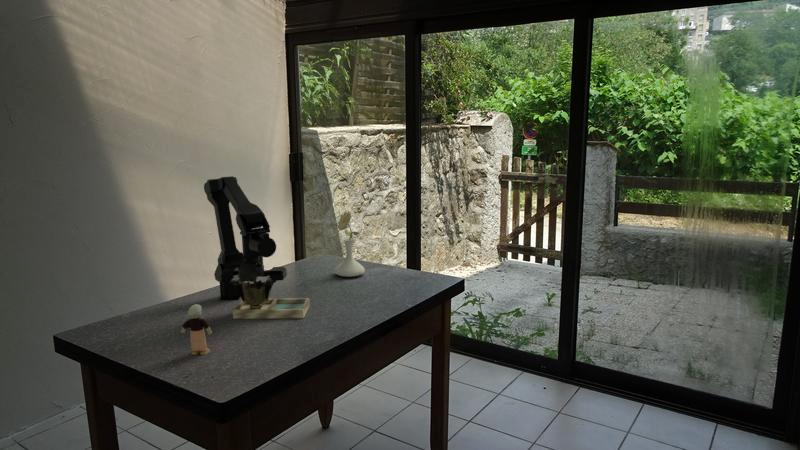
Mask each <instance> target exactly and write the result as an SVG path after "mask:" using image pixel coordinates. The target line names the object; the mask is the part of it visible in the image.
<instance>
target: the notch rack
mask: <svg viewBox="0 0 800 450" xmlns="http://www.w3.org/2000/svg"><path fill="white" fill-rule="evenodd" d="M310 304H311V303H310V298H308V297H307V298H305V297H304V298H303V297H302V298H301V297H300V298H299V297H297V298H296V297H294V298H289V297H288V298H282V297H281V298H269V299H268V301H266V299H265V301H264V302H263V303H262V308H261V309H253V310H251V309H250V305H249V304H247V303H246V301H244V302H243V300H242V299H241V300H240V302H238V304H237V305H236V306H235V307H234V308H233V309H232V318H233V319H235V320H237V319H238V320H239V319H241V320H242V319H247V320H248V319H304V318H305V316H306V315H307V312H308V310H309V308H310Z"/></svg>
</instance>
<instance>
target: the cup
mask: <svg viewBox="0 0 800 450" xmlns="http://www.w3.org/2000/svg"><path fill="white" fill-rule="evenodd" d="M265 282H266V280H265V281H262V280H261V279H260V280H258V281H257V280H256V281H254V282H250V281H246V282H244V284H243V285H242V289H243V295H244V299H245V301H246V303H247V304H249V305H250V309H251V310H253V309H261V308H262V303H263V302H264V301H265V299H266V283H265Z"/></svg>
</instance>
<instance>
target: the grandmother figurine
mask: <svg viewBox="0 0 800 450" xmlns="http://www.w3.org/2000/svg"><path fill="white" fill-rule="evenodd" d="M202 310H203V309H202V305H201V304H197V303H195V304H193V305H191V306H190V307H189V309H188V311H187V313H186V314H187V315H188V316H190V317H191V318H189V319H187V320H185V322H184V323H183V324H182V326H181V327H182V328H181V330H180V333H182V334H185V333H186V330H187V329H188V330H189V329H190V331H189V332H190V334H189V337H190V338H189V339H190V340H189V341H190V345H191V355H192V356H196V355H198V354H199V355H201V356H205V355H207V354H209V353H211V349H210V348H208V347H207V339H206V333H205V331H206V332H207V335H212V333H213V332H212V330H211V327H210V325H209V323H208V322H207V321H206V320H205V319H204V318H201V316H202Z"/></svg>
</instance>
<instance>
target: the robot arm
mask: <svg viewBox="0 0 800 450" xmlns="http://www.w3.org/2000/svg"><path fill="white" fill-rule="evenodd" d="M203 189H204V190H203V192H204V194H206V199H207V200H208V202H209V203H210V204H211V205H212V206H213V209H214V216H215V221H216V225H217V226H216V227H217V233H218V238H219V245H220V246H219V247H220V250H221V251H220V253H219V256H218V258H217V266H216V269H215V270H214V273H213V274H214V275H213V276H214V279H215V281H217V282H218V283H219V293H220V295H219V298H218V300H221V301H222V300H230V301H231V300H232V301H233V300H240V298H241V300H243V302H244V301H245V299H244V295H243V289H242V285H243V284H244V283H245V282H250V283H253V282H254V281H257V279H258V278H260V277H263V278H264V277H265V278H267V279H266V280H265V283H266V301H268V299H270V294H271V291H272V288H273V285H275V284H276V283H277V282H278V281H284V280H285V279H286V277H287V276H288V271H287V268H286V266H273V267H272V268H271V269H270V270H269V269H267V270H266V269H265V265H264V258H270V257H272V256H273V255H274V254H275V252H276V250H277V244H276V241H275V240H274V239H273V238H271V237H270V233H271V229H270V227H271V226H270V224H269V223H270V222H269V221H268V220H267V217H266V216H265V213H264V212H263V211H262V209H261V208H260V207H259V206H258V204H255V203H252V202H251V201H250V200H249V198H248V197H247V196H246V194H245V192H244V191H243V190H242V188H241V186H240V185H239V183H238V179H237V177H235V176H221V177H219V178H211V179H207V180H206V182H204V184H203ZM230 204H231V206H232V208H233V209H234V212H235V213H236V215H235V221H236V225H237V227H238V228H239V230H240V232H239V234H240V236H241V242H242V243H241V246H242V251H240V250H238V248H237V244H236V238H235V237H236V236H235V233H234V228H233V227H234V226H233V220H232V215H231V214H232V213H231V209H230Z"/></svg>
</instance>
